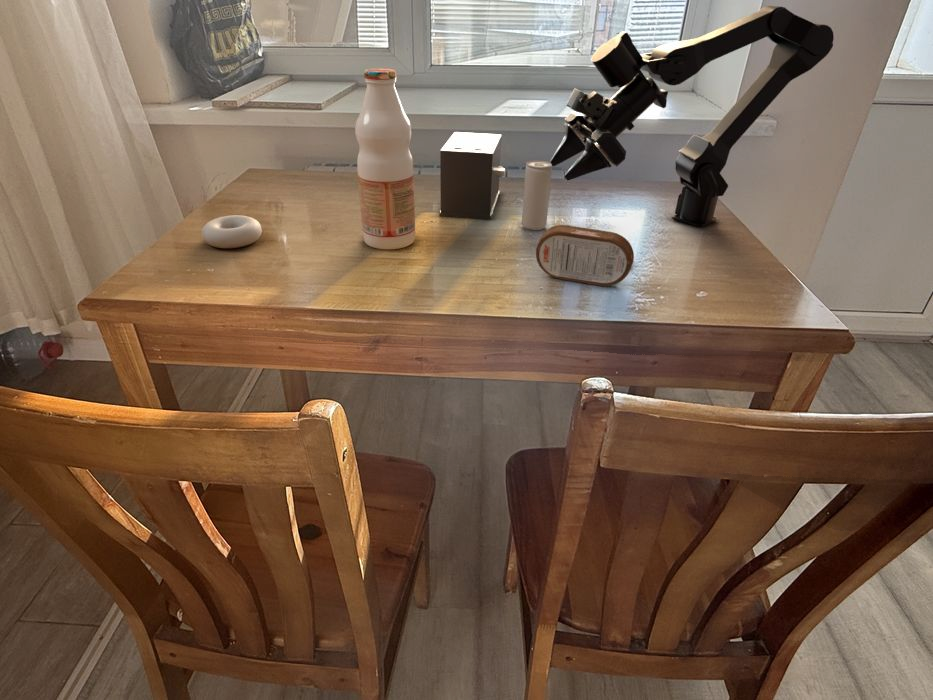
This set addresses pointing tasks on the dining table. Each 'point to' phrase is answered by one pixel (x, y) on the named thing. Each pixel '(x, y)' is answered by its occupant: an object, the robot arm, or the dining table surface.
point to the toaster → (470, 175)
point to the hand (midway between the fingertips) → (558, 171)
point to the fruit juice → (385, 165)
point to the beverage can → (536, 194)
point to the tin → (584, 255)
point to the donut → (231, 231)
